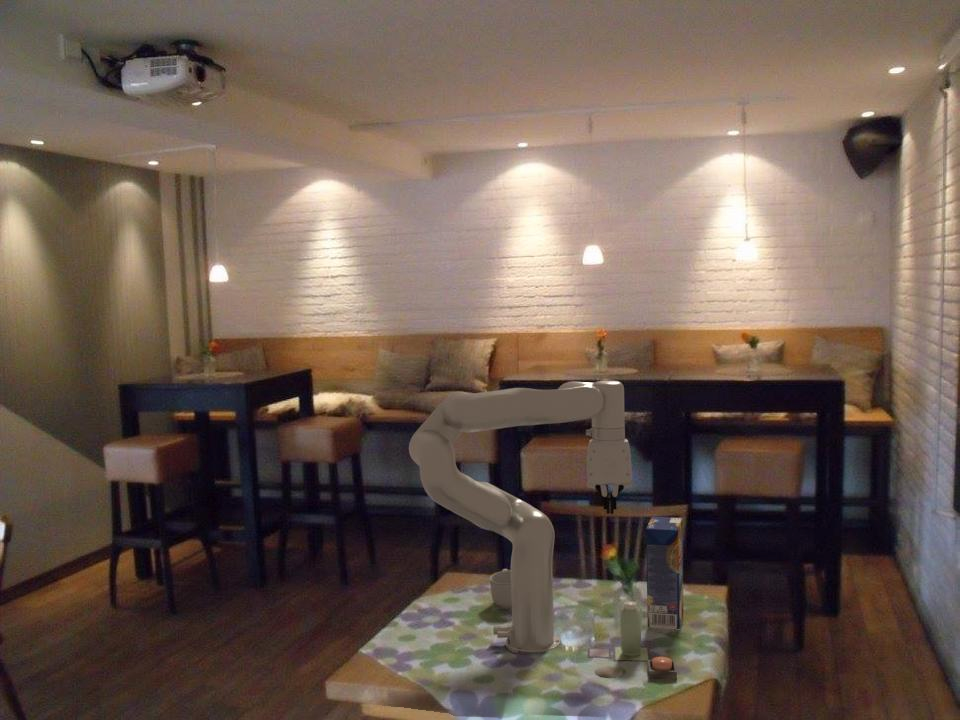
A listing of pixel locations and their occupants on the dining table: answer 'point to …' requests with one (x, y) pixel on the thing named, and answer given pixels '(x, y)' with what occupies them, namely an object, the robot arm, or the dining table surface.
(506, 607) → the teacup
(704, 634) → the dining table surface
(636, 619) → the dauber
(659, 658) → the button
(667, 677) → the colouring board
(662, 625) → the juice carton
